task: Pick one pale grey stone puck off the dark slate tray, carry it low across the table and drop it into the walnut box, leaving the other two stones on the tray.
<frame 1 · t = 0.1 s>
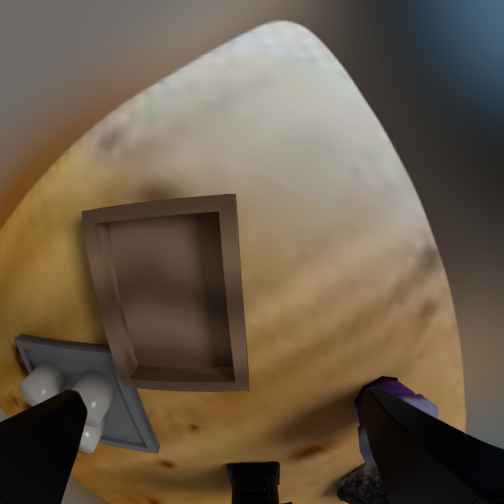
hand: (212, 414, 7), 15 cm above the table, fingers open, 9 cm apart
walnut box: (173, 295, 21), on the table
crystal cluster: (375, 472, 29), on the table
potion bottle: (377, 394, 25), on the table
stone a: (92, 417, 24), point 1 cm above the table, touching slate tray
slate tray: (86, 395, 24), on the table
stone c: (52, 375, 23), point 1 cm above the table, touching slate tray
stone b: (99, 385, 23), point 1 cm above the table, touching slate tray
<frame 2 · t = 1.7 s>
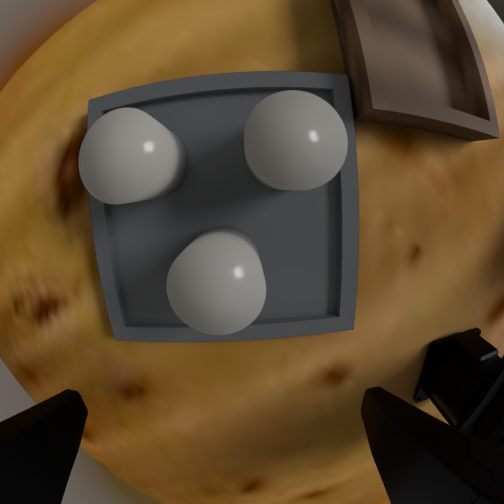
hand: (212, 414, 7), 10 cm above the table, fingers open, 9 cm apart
walnut box: (404, 38, 13), on the table
stone a: (223, 261, 15), point 1 cm above the table, touching slate tray
slate tray: (220, 208, 15), on the table
stone c: (152, 163, 14), point 1 cm above the table, touching slate tray
stone b: (282, 153, 14), point 1 cm above the table, touching slate tray
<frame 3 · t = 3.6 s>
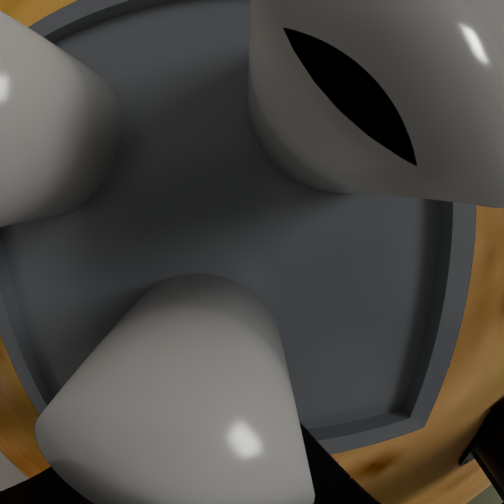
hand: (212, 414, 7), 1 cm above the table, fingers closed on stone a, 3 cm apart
stone a: (202, 347, 7), point 1 cm above the table, touching gripper, slate tray
slate tray: (194, 231, 7), on the table
stone c: (59, 140, 6), point 1 cm above the table, touching slate tray
stone b: (334, 108, 6), point 1 cm above the table, touching slate tray
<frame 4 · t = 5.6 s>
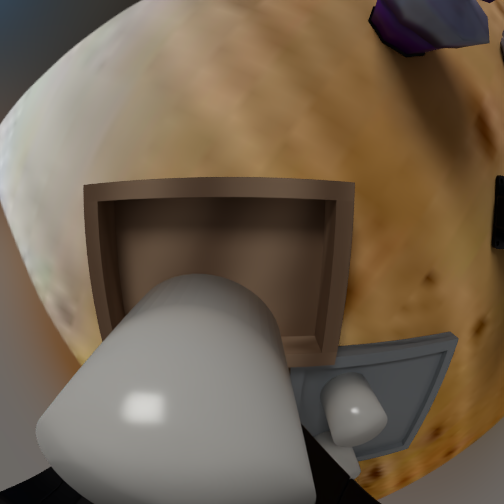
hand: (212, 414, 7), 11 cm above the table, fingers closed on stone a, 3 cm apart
walnut box: (216, 267, 18), on the table
potion bottle: (398, 30, 14), on the table
stone a: (203, 347, 7), point 11 cm above the table, touching gripper
slate tray: (362, 409, 21), on the table
stone c: (328, 442, 21), point 1 cm above the table, touching slate tray
stone b: (344, 391, 19), point 1 cm above the table, touching slate tray
when the fingers open (3 cm above the table, at t = 7.6 s): stone a drops 2 cm, resting on walnut box.
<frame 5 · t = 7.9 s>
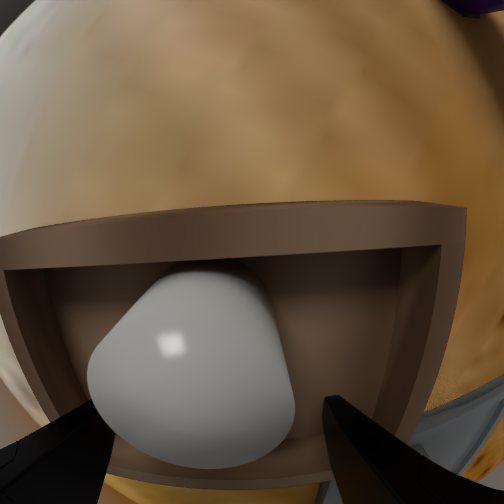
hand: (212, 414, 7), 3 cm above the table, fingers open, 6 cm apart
walnut box: (219, 355, 10), on the table
stone a: (210, 315, 9), point 1 cm above the table, touching walnut box
slate tray: (411, 468, 13), on the table
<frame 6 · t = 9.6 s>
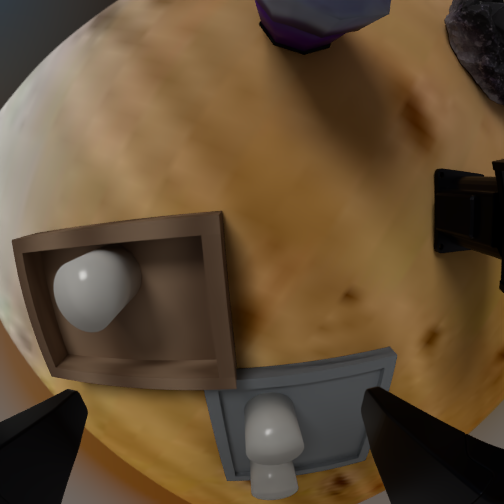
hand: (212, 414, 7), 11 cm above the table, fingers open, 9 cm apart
walnut box: (124, 299, 18), on the table
crystal cluster: (479, 52, 15), on the table
potion bottle: (297, 26, 15), on the table
stone a: (114, 274, 17), point 1 cm above the table, touching walnut box
slate tray: (300, 425, 21), on the table
stone c: (270, 455, 21), point 1 cm above the table, touching slate tray
stone b: (269, 409, 20), point 1 cm above the table, touching slate tray
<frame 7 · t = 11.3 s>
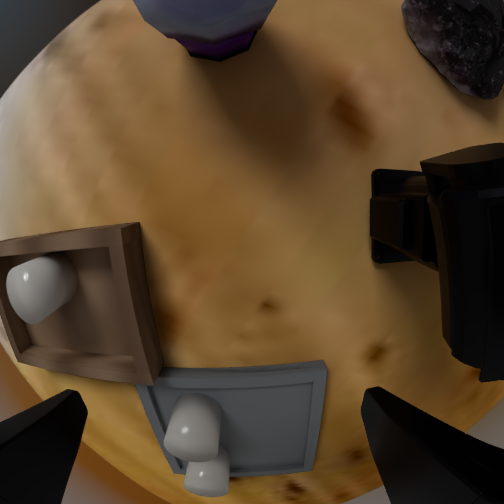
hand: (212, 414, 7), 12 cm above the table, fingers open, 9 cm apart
walnut box: (70, 298, 19), on the table
crystal cluster: (449, 39, 14), on the table
potion bottle: (218, 32, 15), on the table
stone a: (59, 276, 17), point 1 cm above the table, touching walnut box
slate tray: (235, 428, 22), on the table
stone c: (209, 454, 22), point 1 cm above the table, touching slate tray
stone b: (198, 409, 20), point 1 cm above the table, touching slate tray
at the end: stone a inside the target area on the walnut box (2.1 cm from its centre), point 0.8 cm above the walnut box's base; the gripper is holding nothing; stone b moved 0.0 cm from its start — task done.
